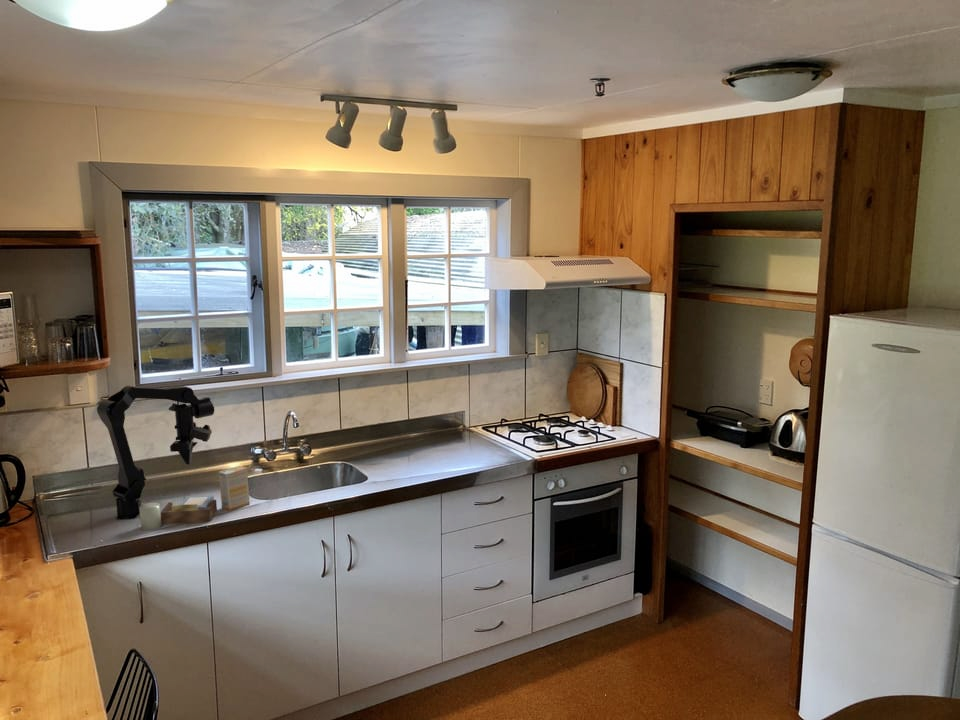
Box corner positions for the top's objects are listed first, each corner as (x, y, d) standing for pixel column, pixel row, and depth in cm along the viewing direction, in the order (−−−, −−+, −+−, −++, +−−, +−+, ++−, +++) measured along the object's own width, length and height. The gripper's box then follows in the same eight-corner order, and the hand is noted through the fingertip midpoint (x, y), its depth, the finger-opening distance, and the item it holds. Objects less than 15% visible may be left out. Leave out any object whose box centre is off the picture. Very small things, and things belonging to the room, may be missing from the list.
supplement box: (242, 501, 265) (239, 465, 262) (250, 504, 261) (247, 467, 259) (220, 508, 258) (218, 471, 256) (228, 511, 255) (226, 473, 253)
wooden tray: (161, 524, 244) (159, 506, 243) (169, 513, 254) (168, 496, 253) (210, 521, 246) (209, 503, 245) (217, 511, 255) (215, 494, 254)
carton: (177, 522, 246) (176, 507, 245) (187, 510, 257) (186, 496, 256) (206, 521, 247) (204, 506, 246) (214, 509, 258) (213, 495, 257)
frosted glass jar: (139, 531, 239) (136, 510, 238) (144, 524, 245) (142, 503, 244) (159, 529, 240) (156, 508, 239) (164, 522, 246) (161, 502, 245)
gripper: (201, 426, 258) (205, 470, 260) (214, 414, 276) (217, 455, 279) (167, 428, 257) (171, 472, 259) (182, 415, 275) (186, 457, 277)
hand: (188, 464), depth 269 cm, fingers closed
